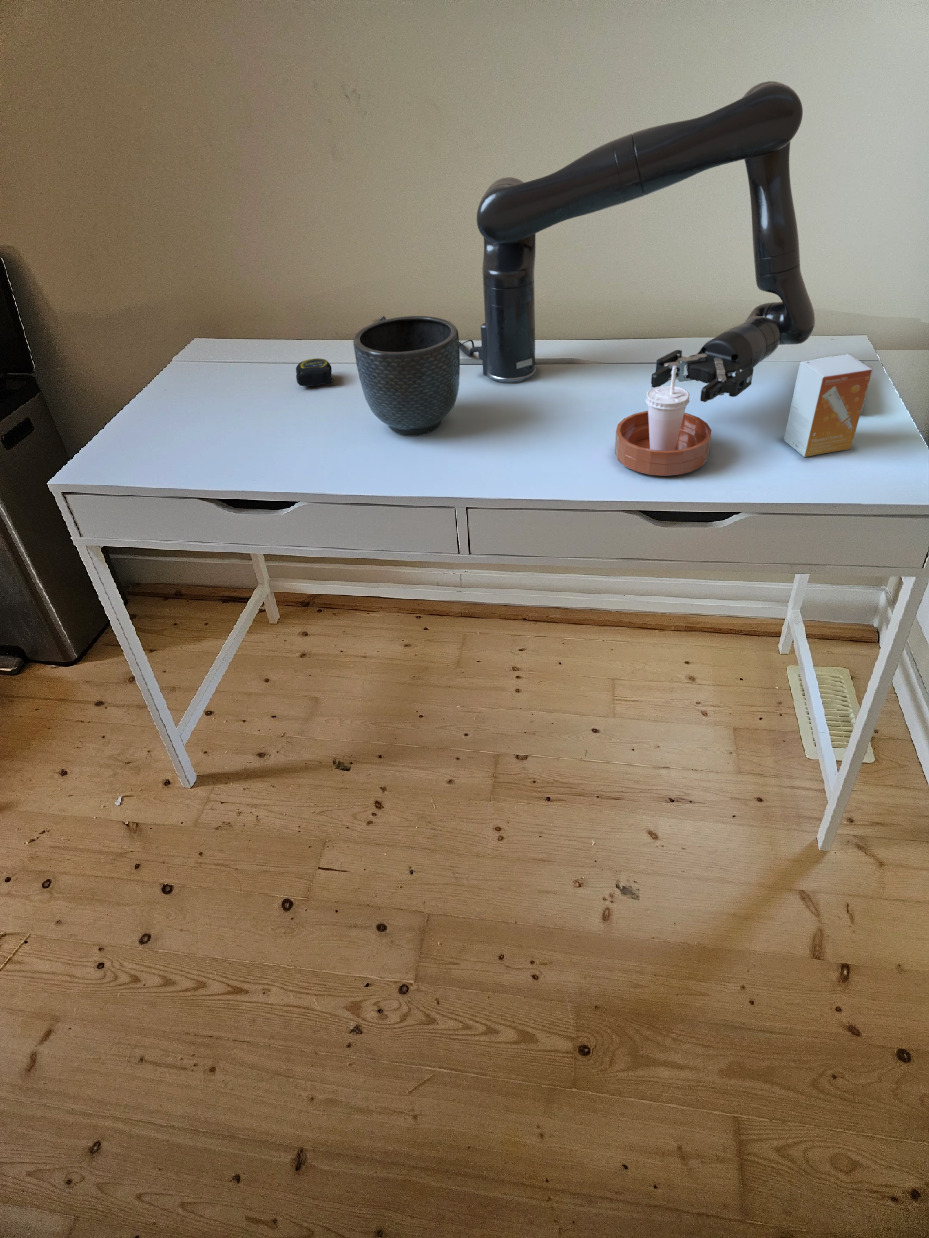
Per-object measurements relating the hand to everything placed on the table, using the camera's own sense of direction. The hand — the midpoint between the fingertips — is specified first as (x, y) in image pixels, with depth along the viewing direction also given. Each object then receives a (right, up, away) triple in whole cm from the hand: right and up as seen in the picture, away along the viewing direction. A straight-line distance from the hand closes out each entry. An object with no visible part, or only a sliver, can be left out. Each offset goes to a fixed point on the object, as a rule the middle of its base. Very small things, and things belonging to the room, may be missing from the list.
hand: (677, 388), depth 123 cm
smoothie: (-1, -9, +5) cm, 10 cm away
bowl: (-1, -9, +5) cm, 11 cm away
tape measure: (-61, +11, +36) cm, 72 cm away
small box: (+23, -8, +5) cm, 25 cm away
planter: (-41, -1, +19) cm, 45 cm away
